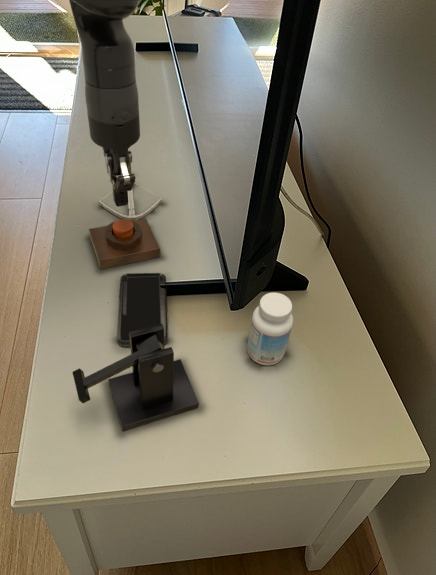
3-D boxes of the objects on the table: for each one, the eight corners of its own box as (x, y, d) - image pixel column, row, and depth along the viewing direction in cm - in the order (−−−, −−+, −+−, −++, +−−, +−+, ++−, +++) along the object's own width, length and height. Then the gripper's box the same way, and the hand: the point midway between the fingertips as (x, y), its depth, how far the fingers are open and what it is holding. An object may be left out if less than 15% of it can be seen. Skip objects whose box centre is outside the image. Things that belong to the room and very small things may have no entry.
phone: (165, 272, 87) (167, 341, 77) (165, 277, 88) (167, 345, 78) (120, 273, 86) (116, 342, 76) (120, 278, 87) (116, 347, 77)
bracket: (122, 431, 67) (115, 379, 58) (108, 383, 72) (100, 328, 63) (198, 407, 71) (203, 355, 61) (180, 363, 76) (182, 308, 66)
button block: (100, 269, 88) (98, 253, 85) (90, 237, 94) (87, 221, 91) (160, 257, 91) (159, 241, 89) (146, 227, 97) (145, 210, 94)
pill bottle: (290, 346, 80) (304, 299, 71) (273, 373, 76) (286, 327, 68) (257, 329, 81) (267, 282, 73) (239, 355, 78) (247, 308, 69)
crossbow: (164, 221, 100) (164, 214, 98) (100, 225, 97) (99, 217, 96) (156, 172, 110) (156, 164, 108) (98, 174, 107) (97, 166, 106)
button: (116, 240, 88) (115, 233, 87) (111, 228, 90) (110, 220, 89) (135, 237, 89) (135, 229, 88) (130, 224, 92) (130, 217, 90)
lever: (85, 405, 63) (76, 398, 61) (78, 377, 66) (69, 369, 64) (169, 363, 63) (163, 354, 61) (159, 336, 66) (152, 327, 64)
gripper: (78, 90, 76) (91, 185, 88) (97, 134, 68) (108, 231, 80) (126, 85, 78) (132, 178, 91) (150, 127, 70) (153, 223, 82)
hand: (121, 203), depth 85 cm, fingers closed
